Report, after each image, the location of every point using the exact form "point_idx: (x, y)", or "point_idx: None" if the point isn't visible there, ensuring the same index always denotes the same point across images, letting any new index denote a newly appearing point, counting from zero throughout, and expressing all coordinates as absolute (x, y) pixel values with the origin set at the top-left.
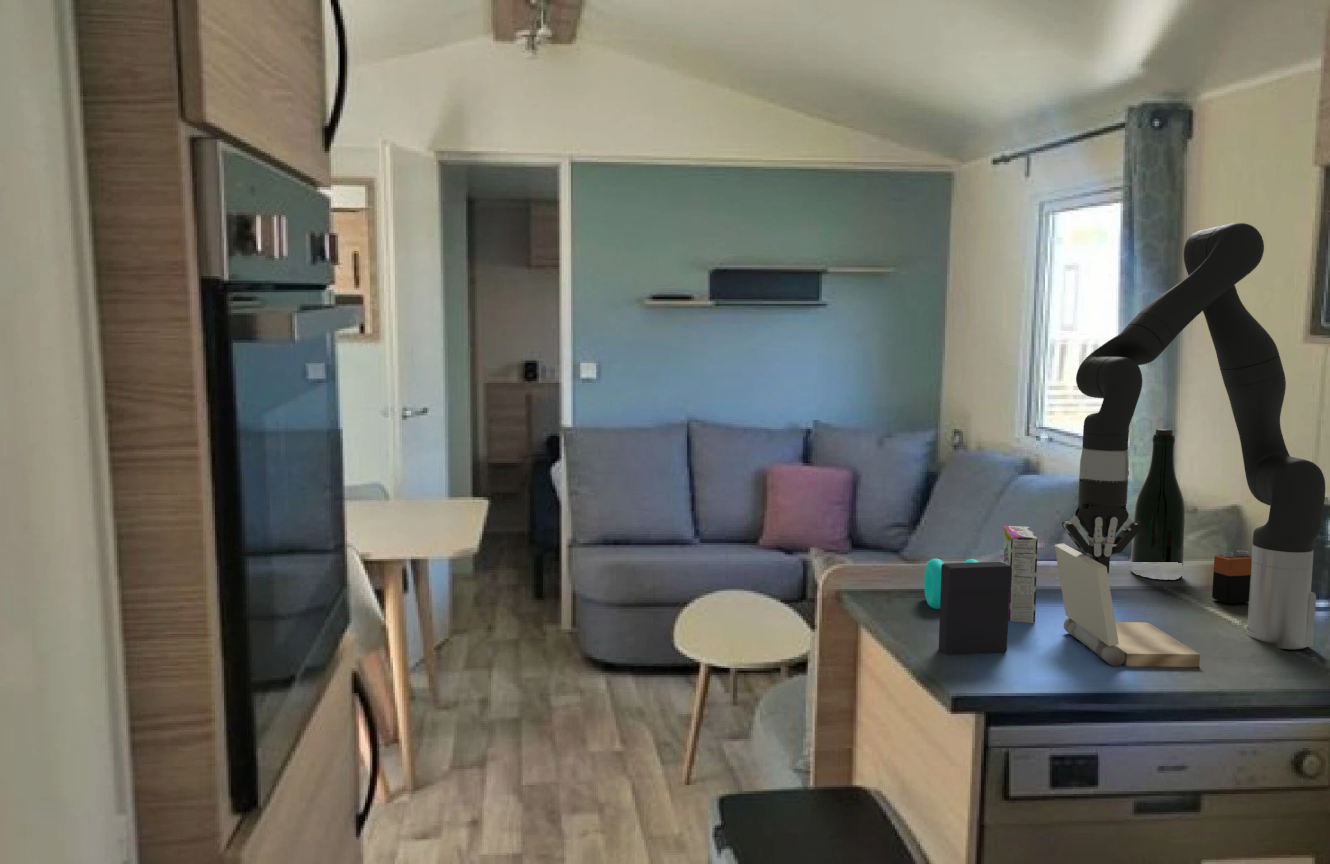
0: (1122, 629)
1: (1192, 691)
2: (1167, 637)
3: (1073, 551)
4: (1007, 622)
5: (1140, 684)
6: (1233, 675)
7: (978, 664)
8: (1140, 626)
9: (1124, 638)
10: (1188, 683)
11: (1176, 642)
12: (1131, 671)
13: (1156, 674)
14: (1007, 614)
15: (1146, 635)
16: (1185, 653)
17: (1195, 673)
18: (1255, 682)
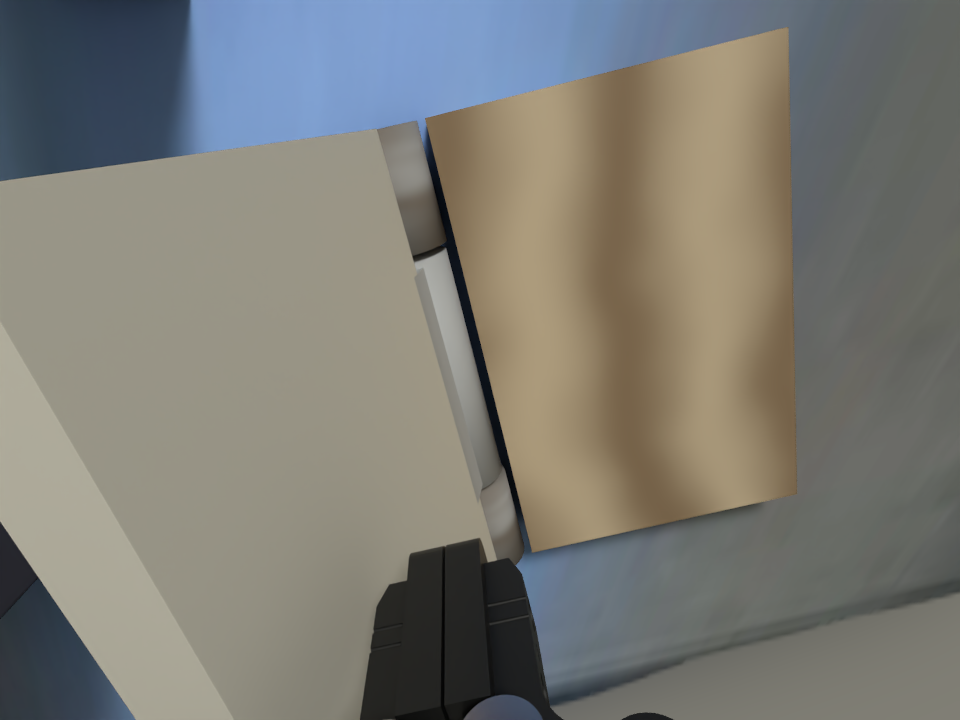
0: (604, 220)
1: (652, 666)
2: (770, 303)
3: (167, 672)
4: (37, 577)
5: None
6: (841, 517)
7: (49, 623)
8: (714, 133)
9: (573, 368)
10: (667, 614)
11: (776, 367)
12: (529, 562)
13: (600, 568)
14: (8, 609)
15: (686, 295)
16: (746, 498)
17: (727, 529)
18: (872, 559)
